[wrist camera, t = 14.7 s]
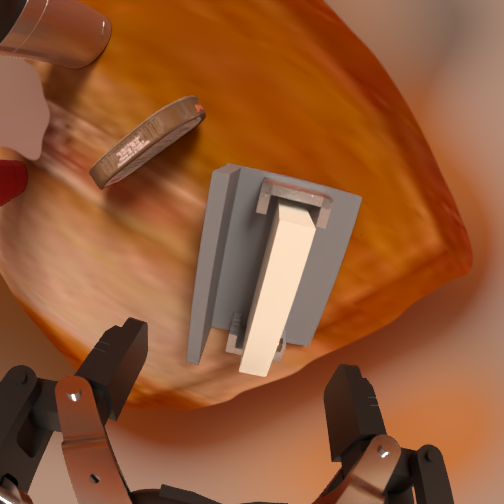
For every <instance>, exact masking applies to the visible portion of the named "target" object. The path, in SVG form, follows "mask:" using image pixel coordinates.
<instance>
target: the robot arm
mask: <svg viewBox="0 0 504 504" xmlns="http://www.w3.org/2000/svg"><path fill="white" fill-rule="evenodd" d="M110 35H111V23H110V21H109V19H108V18H107V17H105V16H104V15H102V14H100V13H98V12H97V11H95V10H93V9H91V8H90V7H88V6H86V5H84V4H82V3H80V2H78V1H76V0H0V55H1V56H11V57H17V58H24V59H30V60H35V61H41V62H46V63H51V64H55V65H60V66H64V67H69V68H73V69H79V68H82V67H85V66H87V65H89V64H90V63H92V62H93V61H94V60H95V59H96V58H97V57H98V56H99V55H100V54H101V53H102V51H103V50H104V48H105V47H106V45H107V43H108V41H109V38H110ZM147 352H148V325H147V322H144V321H140V320H137V319H134V318H131V317H129V318H128V319H127V321H126V322H125V323H124V325H123V326H122V327H119V326H116V325H115V326H113V327H112V328H110V329H108V330H107V331H105V333H104V334H103V335H102V337H101V338H100V339H99V342H97V344H96V345H95V346H94V349H92V351H91V352H90V353H89V355H88V356H87V358H86V359H85V361H84V362H83V364H82V365H81V366H80V368H79V369H78V371H77V372H76V374H75V375H73V376H66V377H64V378H62V379H61V380H60V381H51V380H46V379H41V378H37V377H36V374H35V373H34V371H33V370H32V369H31V368H29V367H27V366H24V365H19V366H15V367H13V368H11V369H10V370H9V371H8V372H7V374H6V375H5V377H4V378H3V379H2V381H1V382H0V504H33V501H32V499H31V498H30V497H29V495H28V494H27V493H28V490H29V487H30V485H31V482H32V480H33V477H34V475H35V472H36V470H37V467H38V465H39V463H40V460H41V458H42V456H43V453H44V451H45V449H46V447H47V445H48V442H49V440H50V438H51V436H52V434H53V432H54V431H58V432H62V434H63V442H62V451H63V455H64V459H65V463H66V466H67V470H68V473H69V477H70V480H71V483H72V486H73V489H74V492H75V495H76V498H77V500H78V503H79V504H221V503H218V502H216V501H213V500H211V499H208V498H206V497H204V496H201V495H199V494H196V493H194V492H191V491H187V490H183V489H179V488H175V487H171V486H167V485H164V484H162V485H161V489H142V490H137V491H133V492H131V491H130V489H129V487H128V485H127V483H126V480H125V478H124V476H123V474H122V472H121V470H120V467H119V465H118V463H117V460H116V457H115V455H114V452H113V449H112V447H111V444H110V441H109V438H108V435H107V432H106V429H105V424H106V422H107V420H108V418H110V419H112V420H115V421H117V419H118V417H119V415H120V413H121V410H122V408H123V406H124V404H125V402H126V400H127V398H128V396H129V394H130V392H131V389H132V387H133V385H134V383H135V381H136V379H137V377H138V375H139V373H140V371H141V369H142V367H143V365H144V363H145V360H146V357H147ZM324 405H325V412H326V420H327V427H328V435H329V443H330V451H331V460H332V462H341V463H342V467H341V468H340V469H339V470H338V472H337V473H336V475H335V476H334V477H333V479H332V480H331V481H330V482H329V484H328V485H327V487H326V488H325V489H324V490H323V492H322V493H321V494H320V495H319V497H318V498H317V499H316V500H315V501H314V502H313V503H312V504H414V498H413V492H412V487H414V489H415V495H416V501H417V504H454V501H453V496H452V492H451V487H450V483H449V479H448V475H447V471H446V467H445V464H444V460H443V456H442V454H441V452H440V450H439V449H438V448H437V447H435V446H433V445H424V446H422V447H421V448H420V449H418V450H417V451H415V450H411V449H406V448H401V447H400V445H399V443H398V442H397V441H396V440H395V439H394V438H393V437H391V436H389V435H387V433H386V429H385V426H384V422H383V419H382V415H381V412H380V409H379V406H378V402H377V399H376V395H375V392H374V389H373V387H372V385H371V384H370V383H369V381H368V380H367V379H366V378H362V376H361V372H360V369H359V367H358V366H357V365H347V364H340V365H339V366H338V368H337V369H336V371H335V373H334V374H333V376H332V378H331V379H330V381H329V383H328V384H327V386H326V388H325V391H324ZM242 504H288V503H268V502H253V503H242Z"/></svg>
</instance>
